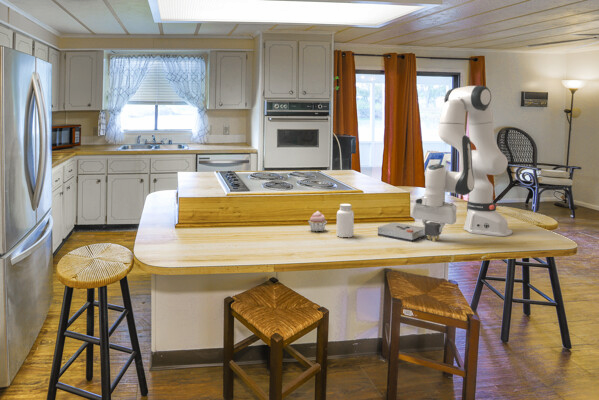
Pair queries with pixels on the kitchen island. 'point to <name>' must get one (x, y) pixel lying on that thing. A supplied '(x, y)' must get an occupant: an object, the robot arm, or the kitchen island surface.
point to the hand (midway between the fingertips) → (433, 230)
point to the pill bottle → (345, 221)
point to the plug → (432, 230)
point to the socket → (401, 232)
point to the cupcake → (317, 222)
